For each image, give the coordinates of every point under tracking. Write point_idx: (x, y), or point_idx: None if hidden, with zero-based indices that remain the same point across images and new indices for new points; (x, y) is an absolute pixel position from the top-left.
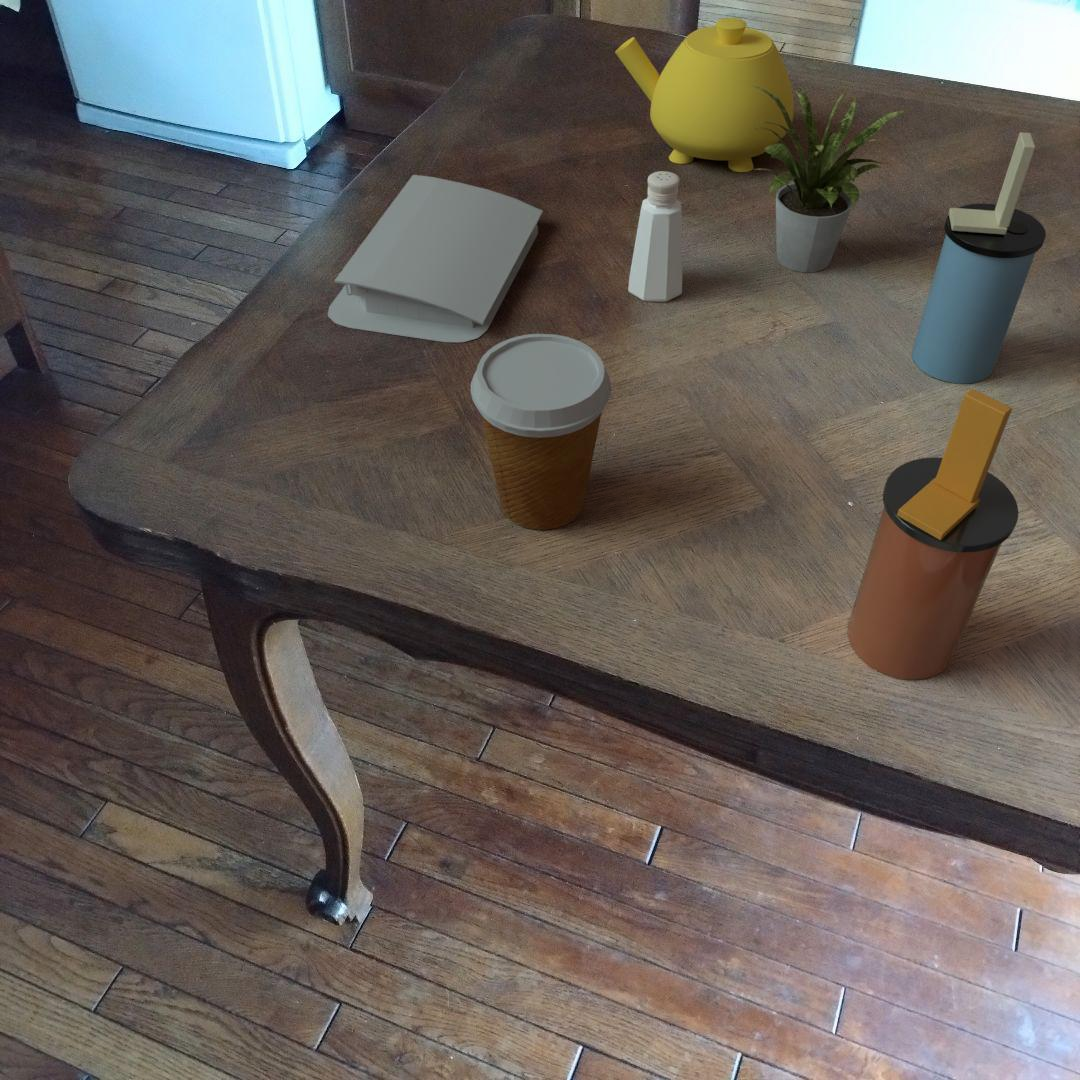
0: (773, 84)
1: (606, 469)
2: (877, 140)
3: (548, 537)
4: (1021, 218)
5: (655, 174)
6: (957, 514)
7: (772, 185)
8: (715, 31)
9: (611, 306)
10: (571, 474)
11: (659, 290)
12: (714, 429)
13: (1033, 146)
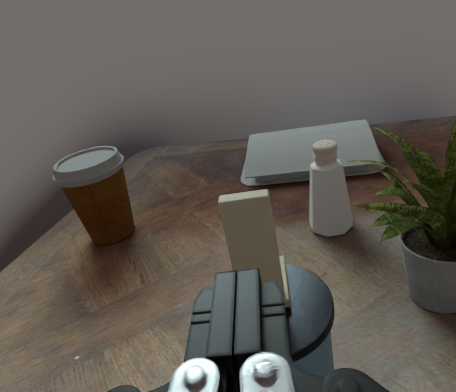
0: None
1: (134, 246)
2: (406, 182)
3: (87, 240)
4: (297, 330)
5: (326, 140)
6: None
7: (380, 191)
8: None
9: (297, 214)
10: (76, 212)
11: (311, 221)
12: (167, 278)
13: (218, 201)
